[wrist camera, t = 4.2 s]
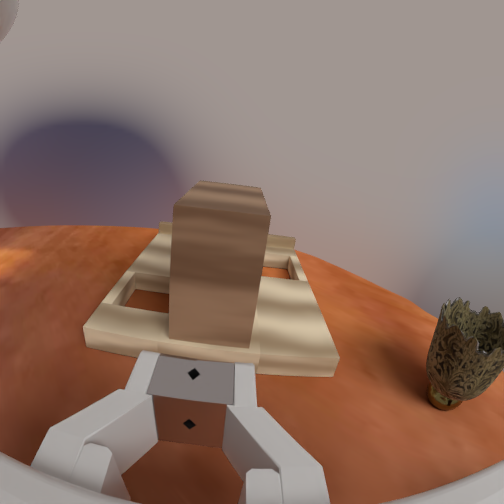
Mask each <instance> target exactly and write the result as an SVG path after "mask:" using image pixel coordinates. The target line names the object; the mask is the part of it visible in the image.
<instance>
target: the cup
mask: <svg viewBox="0 0 504 504" xmlns="http://www.w3.org/2000/svg"><path fill="white" fill-rule="evenodd" d="M450 302H451V301H450V299H448V301H447V303H446V304H445V303H444V304H443V306H442V309H441V313H440V316H439V319H438V323H437V326H436V329H435V332H434V335H433V339H432V342H431V345H430V348H429V352H428V356H427V362H426V370H427V376H428V378H429V381H430V383H429V384H428V387H427V397H428V399H429V401H430V402H431V403H432V404H433V405H434V406H435V407H437V408H439V409H442V410H453V409H455V408H456V407H458V406H459V405H460V404H461V403H462V401H465V400H470V399H473V398H475V397H477V396H479V395H480V394H482V393H483V392H484V391H485V390H486V389H487V388H488V387H489V386H490V385H491V384H492V383H493V381H494V380H495V379H496V378H497V376H498V375H499V374H500V372H501V371H502V370H503V368H504V320H503V318H502V316H501V313H500V312H495V313H490V310H489V309H488V307H486V306H485V307H483V308H482V310H481V311H480V312H479V314H476V313H477V312H476V311H474V310H473V311H472V310H471V311H472V312H471V311H470V309H469V304H470V302H469V301H466V302H465V304H464V305H463V300H462V299H461V298H460V297H459V298H457V299H455V301H454V302H453V303H452V305H451V303H450ZM444 307H445V308H444ZM475 312H476V313H475Z"/></svg>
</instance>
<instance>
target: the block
mask: <svg viewBox="0 0 504 504" xmlns="http://www.w3.org/2000/svg"><path fill="white" fill-rule="evenodd" d="M270 219H271V215H270V212H269V210H268V207H267V204H266V201H265V198H264V196H263V193H262V190H261V188H258V187H250V186H242V185H234V184H226V183H217V182H208V181H199V182H198V183H197V184H196V185H195V186H194V187H192V188H191V189H190V190H189V191H188V192H187V193H186V194H185V195H184V196H183V197H182V198H181V199H179V201H177V202H176V203H175V204H174V209H173V223H172V239H171V259H170V288H169V339H173V340H180V341H187V342H195V343H202V344H210V345H219V346H228V347H237V348H247V349H249V347H250V341H251V335H252V329H253V323H254V317H255V311H256V305H257V299H258V293H259V287H260V281H261V275H262V269H263V263H264V257H265V250H266V244H267V238H268V232H269V225H270Z"/></svg>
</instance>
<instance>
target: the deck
mask: <svg viewBox="0 0 504 504" xmlns="http://www.w3.org/2000/svg"><path fill="white" fill-rule="evenodd" d="M171 239H172V223H170V222H160V223H159V233H158V234H157V236H156V237H155V238H154V239H153V240H152V241H151V242H150V244H149V245H148V246H147V247H146V248H145V249H144V251H143V252H142V253H141V254H140V255H139V257H138V258H137V259H136V260H135V261H134V263H133V264H132V265H131V266H130V267H129V269H128V270H127V271H126V272H125V273H124V275H123V276H122V277H121V278H120V280H119V281H118V282H117V283H116V285H115V286H114V287H113V288H112V290H111V291H110V292H109V293H108V295H107V296H106V297H105V299H104V300H103V301H102V302H101V304H100V305H99V306H98V308H97V309H96V310H95V311H94V313H93V314H92V315H91V317H90V318H89V319H88V321H87V322H86V323H85V325H84V326H83V330H84V336H85V341H86V347H89V348H94V349H98V350H102V351H107V352H111V353H116V354H121V355H126V356H131V357H136V358H138V356H139V354H140V353H141V352H142V351H143V350H145V351H151V352H156V353H160V354H161V353H164V354H170V355H176V356H182V357H189V358H195V359H203V360H212V361H222V362H234V363H235V362H240V363H253V364H254V366H255V373H256V374H270V375H287V376H314V377H333V375H334V372H335V370H336V367H337V364H338V362H339V359H340V357H339V355H338V352H337V350H336V347H335V345H334V342H333V340H332V337H331V335H330V333H329V330H328V328H327V325H326V323H325V321H324V318H323V316H322V313H321V311H320V309H319V306H318V304H317V302H316V299H315V297H314V294H313V292H312V290H311V287H310V285H309V283H308V281H307V278H306V276H305V274H304V271H303V269H302V267H301V264H300V262H299V260H298V258H297V255H296V253H295V251H294V246H295V238H294V237H286V236H278V235H270V234H268V238H267V244H266V250H265V257H264V263H263V266H265V267H274V268H283V269H288V272H289V275H290V278H291V280H290V279H281V278H272V277H263V276H261V281H260V287H259V293H258V299H257V305H256V311H255V317H254V323H253V329H252V335H251V341H250V347H249V349H247V348H237V347H228V346H219V345H210V344H202V343H195V342H187V341H180V340H173V339H169V313H161V312H155V311H148V310H142V309H136V308H130V307H124V306H125V304H126V303H127V301H128V300H129V298H130V297H131V295H132V294H133V292H134V290H135V289H139V290H146V291H153V292H160V293H167V294H169V288H170V259H171Z"/></svg>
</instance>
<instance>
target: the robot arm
mask: <svg viewBox="0 0 504 504" xmlns="http://www.w3.org/2000/svg"><path fill="white" fill-rule="evenodd" d="M18 5H19V0H0V42H1V41H2V40H3V39H4V38H5V36H6V35H7V34H8V32H9V31H10V29H11V27H12V25H13V24H14V21H15V18H16V15H17V12H18ZM158 440H162V441H169V442H176V443H185V444H193V445H200V446H207V447H215V448H222V450H223V452H224V454H225V455H226V457H227V458H228V460H229V461H230V463H231V464H232V466H233V467H234V469H235V470H236V472H237V473H238V475H239V476H240V478H241V479H242V481H243V482H244V483H243V487H242V490H241V494H240V498H239V501H238V504H330V500H329V495H328V490H327V486H326V481H325V477H324V472H323V467H322V466H321V465H320V464H319V463H318V462H317V461H316V460H315V459H314V458H313V457H312V456H311V455H310V454H309V453H308V452H307V451H306V450H305V449H303V448H302V447H301V446H300V445H299V444H298V443H297V442H296V441H295V440H294V439H293V438H292V437H291V436H290V435H289V434H288V433H287V432H286V431H285V430H284V429H283V428H282V427H281V426H280V425H279V424H278V423H277V422H276V421H275V420H274V419H273V418H272V416H271V415H270V414H269V413H268V412H267V411H266V410H265V409H264V408H263V407H257V398H256V382H255V366H254V364H253V363H240V362H235V363H234V362H222V361H212V360H203V359H195V358H189V357H182V356H176V355H170V354H164V353H161V354H160V353H156V352H151V351H145V350H143V351H142V352H141V353H140V354H139V356H138V359H137V361H136V363H135V366H134V368H133V370H132V373H131V375H130V377H129V380H128V382H127V385H126V387H125V389H124V390H122V389H118V390H116V391H114V392H113V393H111V394H109V395H108V396H106V397H104V398H102V399H101V400H99V401H97V402H95V403H94V404H92V405H90V406H88V407H87V408H85V409H83V410H81V411H79V412H78V413H76V414H74V415H72V416H70V417H69V418H67V419H65V420H63V421H61V422H59V423H58V424H56V425H54V426H52V427H50V429H49V430H48V432H47V434H46V436H45V438H44V440H43V442H42V444H41V446H40V448H39V450H38V452H37V454H36V456H35V458H34V460H33V462H32V464H31V466H28V465H26V464H24V463H22V462H20V461H17V460H15V459H14V458H12V457H10V456H8V455H6V454H4V453H2V452H0V504H141V503H136V502H132V501H130V500H131V497H130V495H129V493H128V491H127V488H126V486H125V484H124V481H123V479H122V477H121V475H122V474H123V473H124V472H125V471H127V470H128V469H129V468H130V467H131V466H132V465H133V464H134V463H135V462H137V461H138V460H139V459H140V458H141V457H142V456H143V455H144V454H145V453H146V452H147V451H149V450H150V449H151V448H152V447H153V446H154V445H155V444H156V443H157V442H158ZM380 504H504V460H502V461H500V462H498V463H496V464H494V465H492V466H490V467H487V468H485V469H483V470H481V471H479V472H476V473H474V474H472V475H469V476H467V477H464V478H462V479H459V480H457V481H454V482H452V483H449V484H446V485H443V486H440V487H438V488H435V489H432V490H428V491H425V492H422V493H419V494H415V495H412V496H408V497H405V498H401V499H397V500H393V501H389V502H385V503H380Z"/></svg>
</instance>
